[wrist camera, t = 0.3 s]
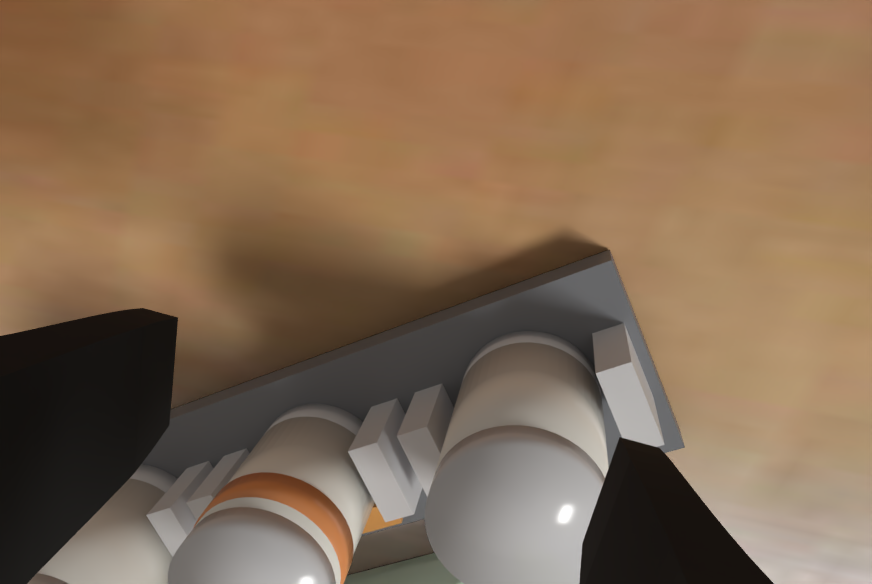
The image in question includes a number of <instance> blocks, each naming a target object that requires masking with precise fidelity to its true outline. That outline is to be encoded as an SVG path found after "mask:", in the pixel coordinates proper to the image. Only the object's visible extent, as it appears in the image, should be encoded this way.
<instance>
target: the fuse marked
mask: <svg viewBox="0 0 872 584" xmlns="http://www.w3.org/2000/svg"><path fill="white" fill-rule="evenodd" d="M362 423H363V422H362V421H361V420H360V419H359V418H357V417H356V416H354V415H353V414H351V413H349V412H347V411H345V410H343V409H340V408H338V407H335V406H330V405H326V404H305V405H300V406H296V407H294V408H291V409H289V410H287V411H286V412H284V413H282V414H281V415H280V416H279V417H278V418H277V419H276V420H275V421H274V422H273V423H272V425H271V426H270V427H269V429H268V430H267V431H266V432H265V434H264V435H263V436H262V438H261V439H260V440H259V442H258V443H257V444H256V446H255V447H254V448H253V450H252V451H251V452H250V454H249V455H248V456H247V458H246V459H245V460H244V462H243V463H242V464H241V466H240V467H239V468H238V470H237V471H236V472H235V474H234V475H233V476H232V478H231V479H230V480H229V482H228V483H227V484H226V485H225V486H224V487H223V488H222V489H221V490H220V491H219V492H218V493H217V494H216V496H215V497H214V498H213V500H212V501H211V502H210V504H209V505H208V506H207V508H206V509H205V510H204V512H203V513H202V514H201V516H200V517H199V518H198V520H197V522H196V523H195V525H194V528H193V529H192V531H191V532H190V533H189V535H188V536H187V537H186V539H185V540H184V541H183V543H182V544H181V545H180V547H179V548H178V549H177V551H176V552H175V554H174V556H173V557H172V560H171V562H170V565H169V570H168V584H344V582H345V579H346V577H347V574H348V572H349V569H350V567H351V564H352V560H353V555H354V552H355V550H356V547H357V545H358V542H359V540H360V538H361V535H362V533H363V530H364V528H365V525H366V523H367V520H368V518H369V516H370V513H371V511H372V508H373V506H374V503H375V502H374V500H373V498H372V496H371V494H370V492H369V491H368V489H367V487H366V485H365V483H364V481H363V479H362V477H361V475H360V474H359V472H358V470H357V468H356V466H355V464H354V462H353V460H352V458H351V457H350V455H349V453H348V450H349V448H350V446H351V445H352V443H353V441H354V439H355V437H356V435H357V433H358V431H359V429H360V427H361V425H362Z"/></svg>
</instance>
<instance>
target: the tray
mask: <svg viewBox="0 0 872 584" xmlns="http://www.w3.org/2000/svg"><path fill="white" fill-rule="evenodd" d="M344 584H464V583H462V582H461V581H460V580H458V579H457V578H456V577H455V576H453V575H452V574H451V573H450V572H449V571H448V570H447V569H446V568H445V567H444V565H443V564H442V563H441V562H440V560H439V559H438V558H437V556H436V554H435V553H432V554H428V555H424V556H421V557H417V558H413V559H409V560H405V561H401V562H397V563H393V564H390V565H386V566H382V567H378V568H374V569H370V570H366V571H362V572H359V573H355V574H351V575H347V577H346V579H345V582H344Z"/></svg>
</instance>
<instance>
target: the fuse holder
mask: <svg viewBox="0 0 872 584" xmlns="http://www.w3.org/2000/svg"><path fill="white" fill-rule="evenodd" d="M519 331H538V332H544V333H549V334H552V335H555V336H558V337H560V338H562V339H564V340H566V341H568V342H570V343H571V344H573V345H574V346H576V347H577V348H578V349H579V350H580V351H582V352H583V353H584V354H585V356H586V357H587V358H588V359H589V360H590V362H591V363H592V365H593V366H594V368H595V372H596V376H597V378H598V380H599V383H600V385H601V392H602V403H603V413H604V424H605V435H606V445H607V456H608V467H609V466H610V463H611V460H612V457H613V454H614V452H615V449H616V446H617V443H618V440H619V437H621V438H625V439H629V440H632V441H636V442H640V443H643V444H647V445H651V446H655V447H658V448H660V449H661V450H662V451H663V452H664V453H666V452H670V451H673V450H677V449H681V448H684V443H683V439H682V436H681V432H680V429H679V426H678V424H677V421H676V419H675V416H674V414H673V411H672V408H671V406H670V403H669V401H668V398H667V396H666V393H665V390H664V388H663V385H662V383H661V380H660V378H659V375H658V372H657V370H656V367H655V365H654V362H653V360H652V357H651V354H650V352H649V349H648V347H647V344H646V342H645V339H644V336H643V334H642V331H641V329H640V326H639V324H638V321H637V318H636V316H635V313H634V311H633V308H632V306H631V303H630V300H629V298H628V295H627V293H626V290H625V288H624V285H623V282H622V280H621V277H620V275H619V272H618V270H617V267H616V264H615V262H614V259H613V257H612V254H611V252H610V250H607V251H604V252H601V253H599V254H596V255H593V256H591V257H588V258H585V259H582V260H580V261H577V262H574V263H571V264H569V265H566V266H563V267H560V268H558V269H555V270H552V271H549V272H547V273H544V274H541V275H538V276H536V277H533V278H530V279H527V280H525V281H522V282H519V283H516V284H514V285H511V286H508V287H506V288H503V289H500V290H497V291H495V292H492V293H489V294H486V295H484V296H481V297H478V298H475V299H473V300H470V301H467V302H464V303H462V304H459V305H456V306H453V307H451V308H448V309H445V310H442V311H440V312H437V313H434V314H431V315H429V316H426V317H423V318H420V319H418V320H415V321H412V322H410V323H407V324H404V325H401V326H399V327H396V328H393V329H390V330H388V331H385V332H382V333H379V334H377V335H374V336H371V337H368V338H366V339H363V340H360V341H357V342H355V343H352V344H349V345H346V346H344V347H341V348H338V349H335V350H333V351H330V352H327V353H325V354H322V355H319V356H316V357H314V358H311V359H308V360H305V361H303V362H300V363H297V364H294V365H292V366H289V367H286V368H283V369H281V370H278V371H275V372H272V373H270V374H267V375H264V376H261V377H259V378H256V379H253V380H250V381H248V382H245V383H242V384H239V385H237V386H234V387H231V388H229V389H226V390H223V391H220V392H218V393H215V394H212V395H209V396H207V397H204V398H201V399H198V400H196V401H193V402H190V403H187V404H185V405H182V406H179V407H176V408H174V409H171V411H170V424H169V427H168V428H167V429H166V431H165V432H164V434H163V435H162V437H161V438H160V439H159V441H158V442H157V444H156V445H155V446H154V448H153V449H152V451H151V452H150V453H149V455H148V456H147V457H146V459H145V460H144V461H143V463H142V464H141V465H149V466H153V467H156V468H159V469H162V470H164V471H166V472H168V473H170V474H172V475H173V476H175V477H176V478H178V479H177V480H176V481H175V483H174V484H173V485H172V486H171V487H170V488H169V489H168V491H167V492H166V493H165V494H164V495H163V496H162V498H161V499H160V500H159V501H158V502H157V503H156V504H155V506H154V507H153V508H152V509H151V510H150V511H149V512H148V514H147V515H146V516H147V517H148V519H149V520H150V522H151V524H152V525H153V527H154V528H155V530H156V532H157V533H158V535H159V536H160V538H161V540H162V541H163V543H164V544H165V546H166V548H167V549H168V551H169V552H170V554H171V555H172V557H173V556H174V554H175V552H176V551H177V549H178V548H179V547H180V545H181V544H182V543H183V541H184V540H185V539H186V537H187V536H188V535H189V533H190V532H191V531H192V529H193V528H194V525H195V523H196V522H197V520H198V518H199V517H200V516H201V514H202V513H203V512H204V510H205V509H206V508H207V506H208V505H209V504H210V502H211V501H212V500H213V498H214V497H215V496H216V494H217V493H218V492H219V491H220V490H221V489H222V488H223V487H224V486H225V485H226V484H227V483H228V482H229V480H230V479H231V478H232V476H233V475H234V474H235V472H236V471H237V470H238V468H239V467H240V466H241V464H242V463H243V462H244V460H245V459H246V458H247V456H248V455H249V454H250V452H251V451H252V450H253V448H254V447H255V446H256V444H257V443H258V442H259V440H260V439H261V438H262V436H263V435H264V434H265V432H266V431H267V430H268V429H269V427H270V426H271V425H272V423H273V422H274V421H275V420H276V419H277V418H278V417H279V416H280V415H281V414H282V413H284V412H286V411H287V410H289V409H291V408H294V407H296V406H300V405H305V404H326V405H330V406H335V407H338V408H340V409H343V410H345V411H347V412H349V413H351V414H353V415H354V416H356V417H357V418H359V419H360V420H361V421H362V422H363V423H362V425H361V427H360V429H359V431H358V433H357V435H356V437H355V439H354V441H353V443H352V445H351V446H350V448H349V450H348V453H349V455H350V457H351V458H352V460H353V462H354V464H355V466H356V468H357V470H358V472H359V474H360V475H361V477H362V479H363V481H364V483H365V485H366V487H367V489H368V491H369V492H370V494H371V496H372V498H373V500H374V502H375V503H374V506H373V508H372V511H371V513H370V516H369V518H368V520H367V523H366V525H365V528H364V530H363V533H362V535H361V536H364V535H368V534H371V533H375V532H379V531H382V530H386V529H390V528H393V527H397V526H400V525H404V524H408V523H411V522H415V521H419V520H422V519H425V506H426V501H427V497H428V494H429V491H430V487H431V484H432V481H433V477H434V474H435V471H436V467H437V464H438V461H439V457H440V454H441V451H442V447H443V444H444V441H445V437H446V434H447V431H448V427H449V424H450V421H451V417H452V414H453V411H454V407H455V404H456V401H457V397H458V394H459V391H460V387H461V384H462V381H463V377H464V374H465V371H466V369H467V366H468V365H469V363H470V361H471V359H472V358H473V357H474V355H475V354H476V353H477V352H478V351H479V350H480V349H481V348H482V347H483V346H485V345H486V344H487V343H489V342H490V341H492V340H494V339H496V338H498V337H500V336H503V335H505V334H509V333H513V332H519Z"/></svg>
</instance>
